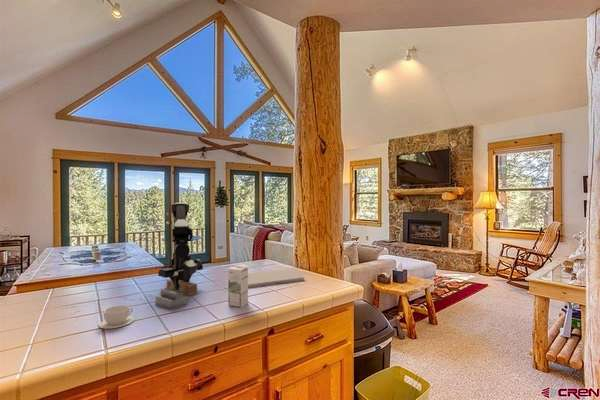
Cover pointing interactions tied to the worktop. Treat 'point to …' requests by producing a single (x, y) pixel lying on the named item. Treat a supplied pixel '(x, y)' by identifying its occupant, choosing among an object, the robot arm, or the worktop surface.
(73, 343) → the worktop surface
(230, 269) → the syrup box
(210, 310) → the worktop surface
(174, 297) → the ridge block
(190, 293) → the walnut bar
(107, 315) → the teacup
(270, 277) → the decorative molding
